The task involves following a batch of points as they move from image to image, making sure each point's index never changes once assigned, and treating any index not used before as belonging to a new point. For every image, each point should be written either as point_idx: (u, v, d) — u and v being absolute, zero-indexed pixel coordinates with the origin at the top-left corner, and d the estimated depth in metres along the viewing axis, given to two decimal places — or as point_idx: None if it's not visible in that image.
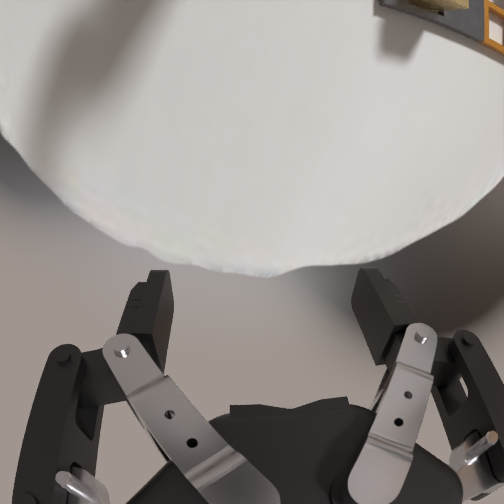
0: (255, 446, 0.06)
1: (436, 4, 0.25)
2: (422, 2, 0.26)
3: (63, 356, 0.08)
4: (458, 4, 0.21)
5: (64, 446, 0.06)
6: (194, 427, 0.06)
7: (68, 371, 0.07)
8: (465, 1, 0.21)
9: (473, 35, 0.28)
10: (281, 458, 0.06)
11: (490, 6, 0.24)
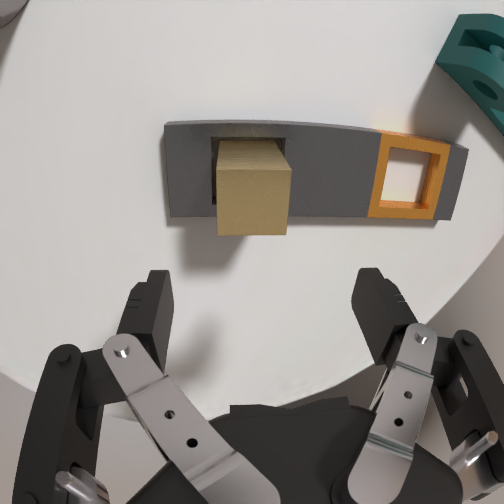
0: (255, 446, 0.06)
1: None
2: None
3: (63, 356, 0.08)
4: None
5: (64, 446, 0.06)
6: (194, 427, 0.06)
7: (68, 371, 0.07)
8: (279, 224, 0.21)
9: (343, 214, 0.28)
10: (281, 458, 0.06)
11: (395, 145, 0.24)
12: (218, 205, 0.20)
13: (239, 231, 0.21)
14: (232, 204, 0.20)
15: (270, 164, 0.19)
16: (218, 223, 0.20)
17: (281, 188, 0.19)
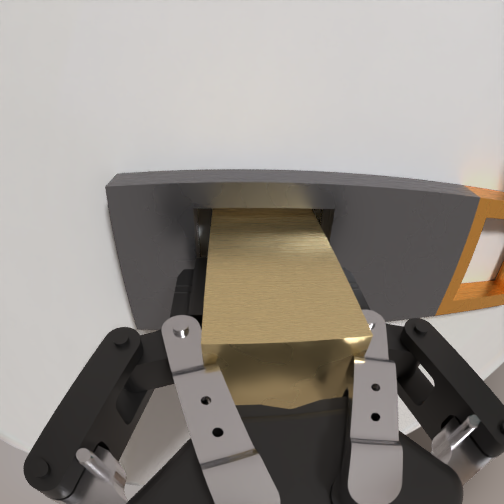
0: (255, 446, 0.06)
1: None
2: None
3: (121, 338, 0.09)
4: None
5: (96, 425, 0.06)
6: (225, 418, 0.06)
7: (128, 353, 0.08)
8: None
9: (405, 316, 0.17)
10: (281, 459, 0.06)
11: (492, 215, 0.14)
12: None
13: None
14: (239, 391, 0.09)
15: (323, 312, 0.09)
16: None
17: (345, 365, 0.09)
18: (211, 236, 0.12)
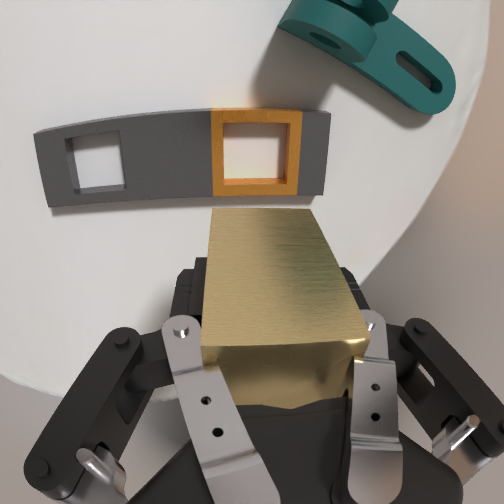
0: (255, 446, 0.06)
1: None
2: None
3: (121, 338, 0.09)
4: None
5: (96, 425, 0.06)
6: (225, 418, 0.06)
7: (128, 353, 0.08)
8: None
9: (187, 195, 0.29)
10: (281, 458, 0.06)
11: (229, 120, 0.25)
12: None
13: None
14: (238, 393, 0.09)
15: (322, 314, 0.09)
16: None
17: (343, 366, 0.09)
18: (210, 238, 0.12)
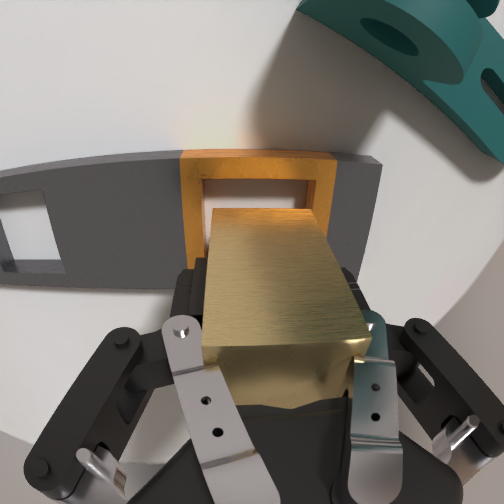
0: (255, 446, 0.06)
1: None
2: None
3: (121, 338, 0.09)
4: None
5: (96, 425, 0.06)
6: (225, 418, 0.06)
7: (128, 353, 0.08)
8: None
9: (151, 286, 0.19)
10: (281, 458, 0.06)
11: (211, 175, 0.15)
12: None
13: None
14: (238, 393, 0.09)
15: (322, 314, 0.09)
16: None
17: (344, 366, 0.09)
18: (211, 238, 0.12)
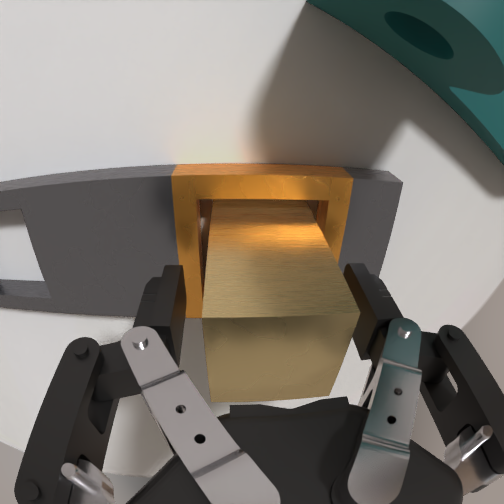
0: (255, 446, 0.06)
1: None
2: None
3: (81, 349, 0.08)
4: None
5: (73, 438, 0.06)
6: (204, 423, 0.06)
7: (86, 364, 0.08)
8: (320, 385, 0.11)
9: None
10: (281, 458, 0.06)
11: (208, 196, 0.13)
12: (210, 369, 0.10)
13: (250, 397, 0.11)
14: (236, 367, 0.10)
15: (314, 291, 0.10)
16: (211, 389, 0.10)
17: (335, 341, 0.09)
18: (211, 225, 0.13)
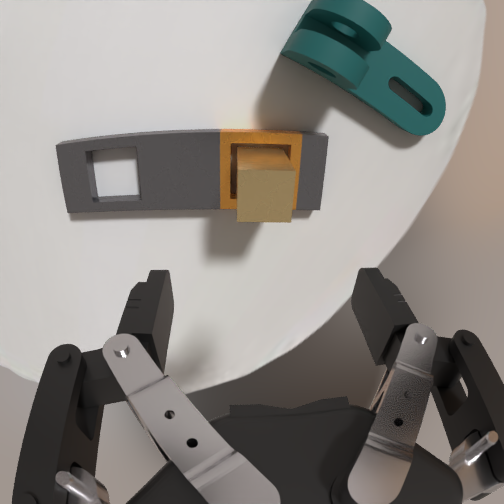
0: (255, 446, 0.06)
1: None
2: None
3: (63, 356, 0.08)
4: None
5: (64, 446, 0.06)
6: (194, 427, 0.06)
7: (68, 371, 0.07)
8: (285, 213, 0.26)
9: (197, 207, 0.32)
10: (281, 458, 0.06)
11: (236, 141, 0.29)
12: (238, 197, 0.25)
13: (254, 218, 0.26)
14: (249, 196, 0.25)
15: (279, 166, 0.25)
16: (238, 212, 0.26)
17: (288, 185, 0.25)
18: (238, 152, 0.28)
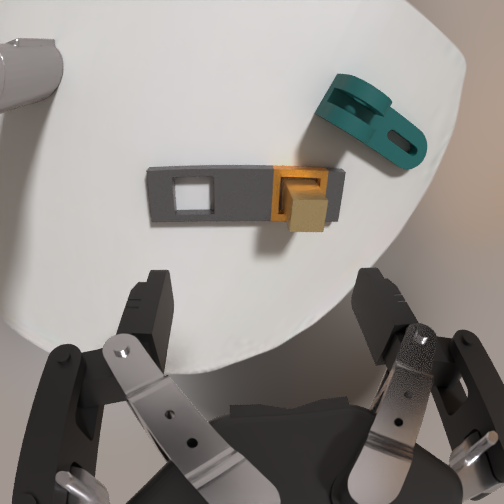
0: (255, 446, 0.06)
1: None
2: None
3: (63, 356, 0.08)
4: None
5: (64, 446, 0.06)
6: (194, 427, 0.06)
7: (68, 371, 0.07)
8: (320, 226, 0.41)
9: (254, 219, 0.47)
10: (280, 458, 0.06)
11: (284, 175, 0.43)
12: (292, 216, 0.40)
13: (300, 229, 0.41)
14: (298, 216, 0.40)
15: (317, 196, 0.40)
16: (290, 225, 0.40)
17: (322, 209, 0.39)
18: (286, 184, 0.43)
